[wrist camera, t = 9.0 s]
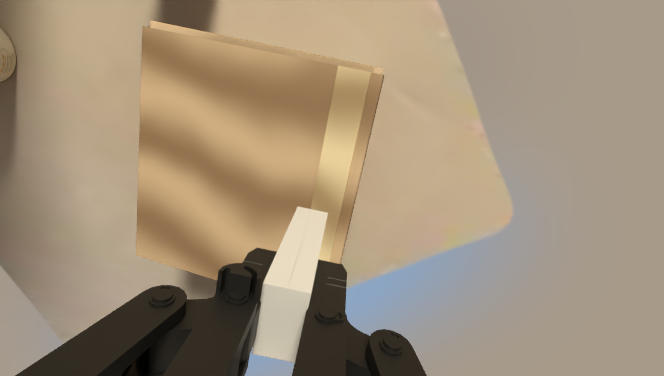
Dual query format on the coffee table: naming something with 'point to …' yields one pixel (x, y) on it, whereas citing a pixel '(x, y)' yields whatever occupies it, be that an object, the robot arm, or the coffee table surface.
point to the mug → (6, 56)
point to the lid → (244, 149)
